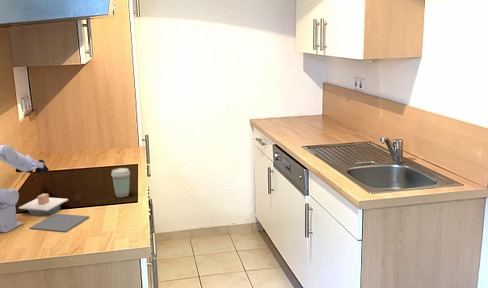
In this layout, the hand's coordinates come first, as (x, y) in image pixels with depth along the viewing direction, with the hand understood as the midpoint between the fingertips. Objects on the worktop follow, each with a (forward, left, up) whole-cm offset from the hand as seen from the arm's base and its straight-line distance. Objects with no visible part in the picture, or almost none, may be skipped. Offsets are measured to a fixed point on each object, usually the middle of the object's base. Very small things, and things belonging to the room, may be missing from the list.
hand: (39, 171), depth 212 cm
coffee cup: (+24, -24, -17) cm, 38 cm away
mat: (-13, -17, -17) cm, 27 cm away
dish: (-1, -1, -17) cm, 17 cm away
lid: (-1, -1, -14) cm, 14 cm away
